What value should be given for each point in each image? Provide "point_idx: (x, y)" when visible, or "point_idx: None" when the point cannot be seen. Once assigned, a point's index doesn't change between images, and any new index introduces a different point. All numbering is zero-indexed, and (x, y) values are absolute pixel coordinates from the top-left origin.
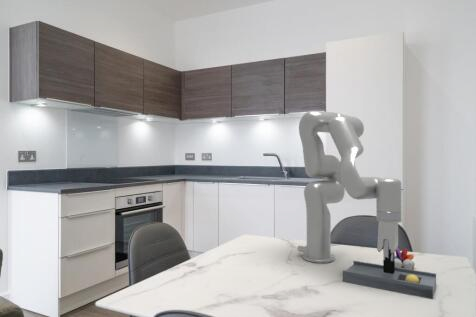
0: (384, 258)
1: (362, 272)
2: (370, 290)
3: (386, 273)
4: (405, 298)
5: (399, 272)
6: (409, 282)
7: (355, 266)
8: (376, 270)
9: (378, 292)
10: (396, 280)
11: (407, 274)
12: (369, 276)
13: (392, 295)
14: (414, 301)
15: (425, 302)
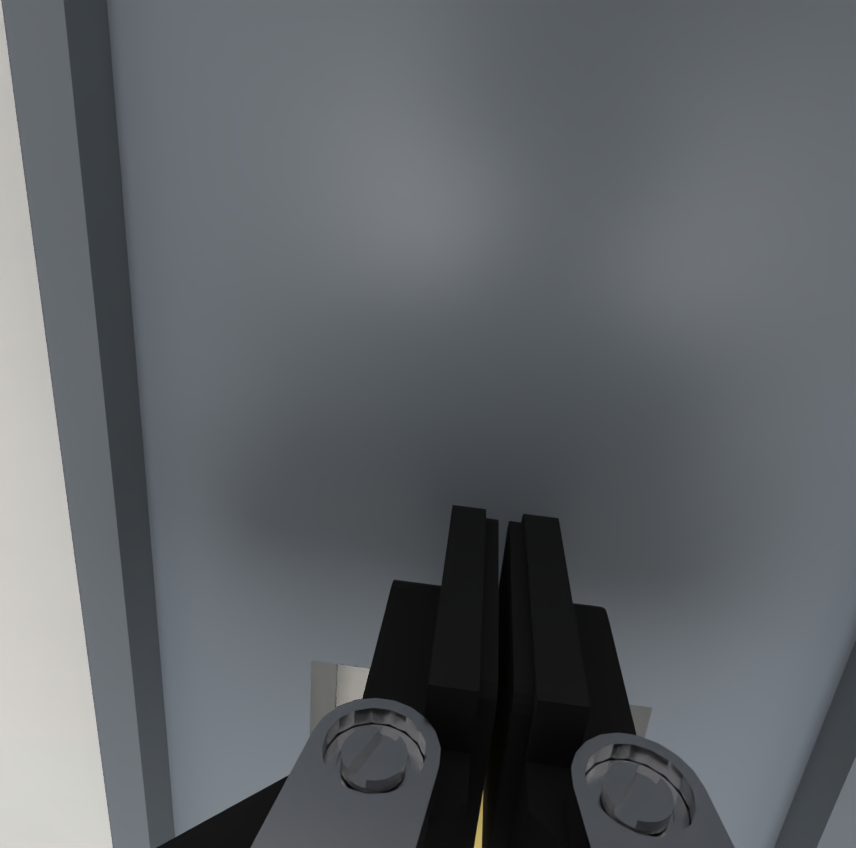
0: (294, 788)
1: (422, 21)
2: (6, 268)
3: (596, 516)
4: (33, 661)
5: (756, 707)
6: (113, 832)
7: None
8: (739, 320)
9: (7, 382)
10: (94, 692)
11: None
12: (46, 254)
13: (26, 542)
14: (11, 729)
15: (57, 806)
